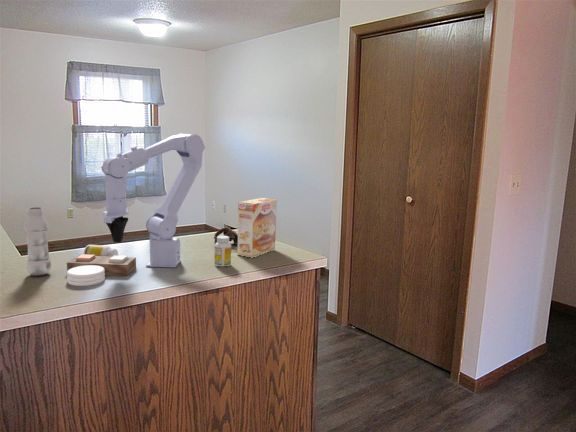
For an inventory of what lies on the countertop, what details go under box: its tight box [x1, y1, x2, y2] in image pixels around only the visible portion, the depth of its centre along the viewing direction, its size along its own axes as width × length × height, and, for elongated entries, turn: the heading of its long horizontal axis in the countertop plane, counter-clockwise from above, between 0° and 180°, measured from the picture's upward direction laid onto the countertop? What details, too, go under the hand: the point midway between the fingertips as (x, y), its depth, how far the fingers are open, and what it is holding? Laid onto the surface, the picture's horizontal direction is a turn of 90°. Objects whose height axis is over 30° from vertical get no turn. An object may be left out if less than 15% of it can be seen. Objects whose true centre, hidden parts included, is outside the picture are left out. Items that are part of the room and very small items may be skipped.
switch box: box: [66, 255, 137, 277], centre depth 142 cm, size 18×8×4 cm, turn 90°
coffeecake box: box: [237, 197, 278, 259], centre depth 167 cm, size 15×7×20 cm, turn 148°
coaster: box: [66, 265, 106, 287], centre depth 133 cm, size 10×10×4 cm
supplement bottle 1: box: [83, 244, 119, 257], centre depth 151 cm, size 5×5×10 cm
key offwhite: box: [109, 255, 128, 263], centre depth 142 cm, size 4×4×3 cm
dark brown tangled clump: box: [213, 226, 238, 245], centre depth 178 cm, size 12×10×8 cm
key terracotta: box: [75, 253, 95, 262], centre depth 142 cm, size 4×4×3 cm
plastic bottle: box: [23, 206, 52, 276], centre depth 135 cm, size 6×7×20 cm
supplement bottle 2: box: [213, 235, 232, 267], centre depth 152 cm, size 5×5×10 cm
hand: (117, 241), depth 141 cm, fingers closed
